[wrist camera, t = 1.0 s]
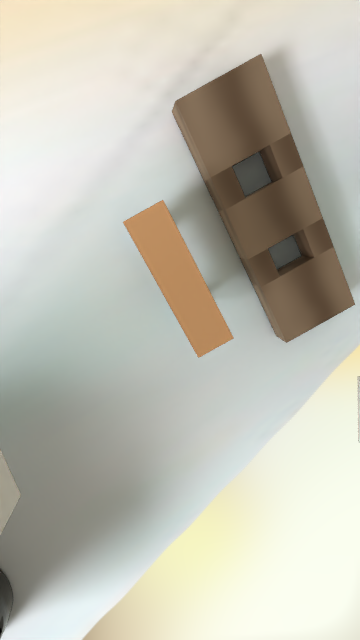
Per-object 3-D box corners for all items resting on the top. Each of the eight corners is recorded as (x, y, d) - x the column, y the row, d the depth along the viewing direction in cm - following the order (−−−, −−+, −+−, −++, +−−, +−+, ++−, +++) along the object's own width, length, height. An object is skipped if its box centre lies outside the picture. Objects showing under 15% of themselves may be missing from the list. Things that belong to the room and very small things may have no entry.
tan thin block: (179, 323, 35) (198, 357, 25) (125, 225, 32) (122, 222, 22) (205, 309, 35) (233, 338, 25) (153, 210, 32) (163, 199, 22)
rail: (276, 335, 37) (286, 342, 34) (171, 111, 30) (175, 100, 27) (340, 299, 37) (355, 304, 34) (250, 68, 30) (261, 53, 28)
